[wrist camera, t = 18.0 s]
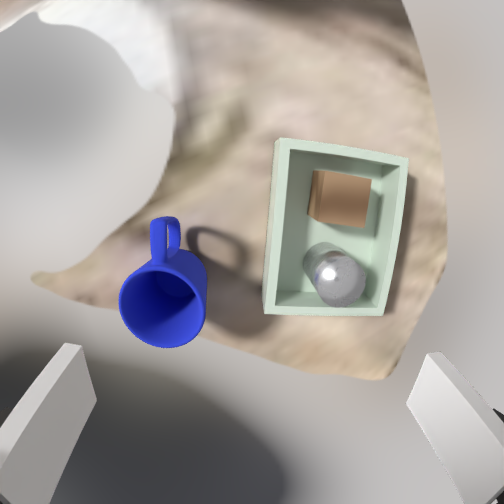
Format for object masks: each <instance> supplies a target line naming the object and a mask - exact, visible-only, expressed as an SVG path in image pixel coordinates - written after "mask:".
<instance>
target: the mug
mask: <svg viewBox="0 0 504 504" xmlns="http://www.w3.org/2000/svg"><path fill="white" fill-rule="evenodd" d="M167 225H168V229H169V247H168V249H167ZM180 240H181V232H180V223H179V221H178V219H177V218H175V217H169V216H166V217H160V218H156V219H154V220H152V221H151V224H150V243H151V255H152V259H151V260H150V261H148V262H147V263H146V264H144V265H143V266H142V267H140V268H139V269H138V270H136V271H135V272H134V273H132V274H131V275H130V276H129V277H128V278H127V279H126V280H125V282H124V284H123V285H122V288H121V290H120V294H119V310H120V314H121V316H122V319H123V321H124V323H125V324H126V326H127V327H128V329H129V330H130V331H131V332H132V333H133V334H134V335H135V336H136V337H137V338H139V339H140V340H142V341H144V342H145V343H147V344H150V345H153V346H156V347H161V348H174V347H179V346H182V345H184V344H187V343H188V342H190V341H191V340H193V339H194V338H195V337H196V336H197V335H198V333H199V332H200V331H201V329H202V327H203V324H204V321H205V315H206V292H207V274H206V270H205V268H204V265H203V264H202V262H201V261H200V259H199V258H198V257H197V256H195V255H194V254H193V253H191V252H189V251H187V250H183V249H179V247H180Z"/></svg>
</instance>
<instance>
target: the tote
mask: <svg viewBox="0 0 504 504" xmlns="http://www.w3.org/2000/svg"><path fill="white" fill-rule="evenodd" d="M408 162H409V158H405V157H400V156H396V155H391V154H386V153H381V152H376V151H371V150H365V149H360V148H354V147H348V146H342V145H335V144H329V143H322V142H315V141H307V140H299V139H290V138H281V137H280V138H279V139H278V140H276V141H275V142H274V154H273V166H272V178H271V190H270V202H269V214H268V225H267V237H266V248H265V259H264V270H263V281H262V292H261V298H262V303H263V309H264V314H281V315H318V316H383V313H384V309H385V305H386V301H387V297H388V293H389V288H390V283H391V279H392V274H393V269H394V264H395V259H396V253H397V248H398V242H399V236H400V230H401V223H402V216H403V209H404V201H405V193H406V183H407V173H408ZM313 170H321V171H330V172H336V173H342V174H347V175H353V176H358V177H363V178H368V179H372V183H371V190H370V196H369V203H368V209H367V215H366V221H365V227H364V228H361V227H353V226H346V225H339V224H331V223H324V222H318V221H316V220H315V219H313V218H312V217H310V216H309V215H307V211H308V204H309V197H310V189H311V182H312V174H313ZM320 242H330V243H333V244H334V245H336V246H337V247H338V248H340V249H341V250H342V251H343V252H344V253H346V254H347V255H348V256H349V257H350V258H352V259H353V260H354V261H355V262H356V263H358V264H359V265H360V266H361V267H362V269H363V271H364V273H365V277H366V283H365V288H364V290H363V292H362V294H361V296H360V297H359V298H358V299H357V300H356V301H355V302H354V303H352V304H350V305H348V306H346V307H340V308H336V307H331V306H329V305H327V304H326V303H324V302H323V301H322V299H321V298H320V296H319V294H318V293H317V291H316V290H315V288H314V286H313V285H312V283H311V282H310V280H309V279H308V277H307V275H306V274H305V272H304V269H303V259H304V256H305V254H306V252H307V251H308V250H309V249H310V248H311V247H312V246H313V245H315V244H317V243H320Z"/></svg>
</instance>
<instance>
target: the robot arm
mask: <svg viewBox="0 0 504 504" xmlns="http://www.w3.org/2000/svg"><path fill="white" fill-rule="evenodd" d="M96 401H97V399H96V396H95V393H94V390H93V386H92V383H91V379H90V376H89V372H88V368H87V365H86V361H85V357H84V353H83V349H82V346H80V345H74V344H69V343H65V344H64V345H63V346H62V347H61V348H60V350H59V351H58V352H57V353H56V354H55V356H54V357H53V358H52V360H51V361H50V362H49V363H48V364H47V366H46V367H45V368H44V370H43V371H42V372H41V373H40V375H39V376H38V377H37V378H36V380H35V381H34V382H33V384H32V385H31V386H30V388H29V389H28V390H27V391H26V393H25V395H24V396H23V397H22V398H21V400H20V401H19V403H18V404H17V405H16V406H15V408H14V409H11V408H8V407H6V408H5V409H3V410H2V411H0V504H49V503H50V500H51V498H52V496H53V493H54V491H55V488H56V486H57V484H58V481H59V479H60V477H61V475H62V472H63V470H64V468H65V465H66V463H67V461H68V459H69V457H70V455H71V452H72V450H73V448H74V446H75V443H76V442H77V439H78V437H79V435H80V433H81V431H82V429H83V427H84V425H85V423H86V421H87V419H88V417H89V415H90V412H91V411H92V409H93V407H94V405H95V403H96ZM406 405H407V406H408V408H409V409H410V411H411V412H412V414H413V416H414V417H415V419H416V421H417V422H418V424H419V426H420V427H421V429H422V431H423V432H424V434H425V436H426V437H427V439H428V440H429V442H430V444H431V446H432V448H433V449H434V451H435V452H436V454H437V456H438V458H439V459H440V461H441V463H442V465H443V466H444V468H445V470H446V472H447V473H448V475H449V477H450V479H451V480H452V482H453V484H454V486H455V488H456V490H457V491H458V493H459V495H460V497H461V499H462V501H463V503H464V504H491V503H492V502H493V501H494V500H495V499H497V501H498V503H497V504H504V415H503V414H502V413H500V412H498V411H497V410H495V409H492V408H491V407H490V406H489V405H488V404H487V403H486V401H485V400H484V399H483V398H482V397H481V395H480V394H479V393H478V392H477V391H476V390H475V389H474V387H473V386H472V385H471V384H470V383H469V382H468V381H467V380H466V378H465V377H464V376H463V375H462V374H461V373H460V372H459V371H458V370H457V368H456V367H455V366H454V365H453V364H452V363H451V362H450V361H449V360H448V359H447V358H446V357H445V356H444V355H443V354H442V352H441V351H439V352H432V353H427V354H426V357H425V360H424V362H423V365H422V367H421V370H420V372H419V375H418V377H417V380H416V382H415V384H414V387H413V389H412V392H411V394H410V396H409V398H408V400H407V403H406Z"/></svg>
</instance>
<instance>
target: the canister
mask: <svg viewBox="0 0 504 504" xmlns="http://www.w3.org/2000/svg"><path fill="white" fill-rule="evenodd" d="M303 269H304V272H305V274H306V275H307V277H308V279H309V280H310V282H311V283H312V285H313V286H314V288H315V290H316V291H317V293H318V294H319V296H320V298H321V299H322V301H323V302H324V303H326V304H327V305H329V306H331V307H336V308H340V307H346V306H348V305H350V304H352V303H354V302H355V301H356V300H357V299H358V298H359V297H360V296H361V294H362V292H363V290H364V288H365V283H366V277H365V273H364V271H363V269H362V267H361V266H360V265H359V264H358V263H356V262H355V261H354V260H353V259H352V258H350V257H349V256H348V255H347V254H346V253H344V252H343V251H342V250H341V249H340V248H338V247H337V246H336V245H334V244H333V243H330V242H320V243H317V244H315V245H313V246H312V247H311V248H310V249H309V250H308V251H307V252H306V254H305V256H304V259H303Z"/></svg>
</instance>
